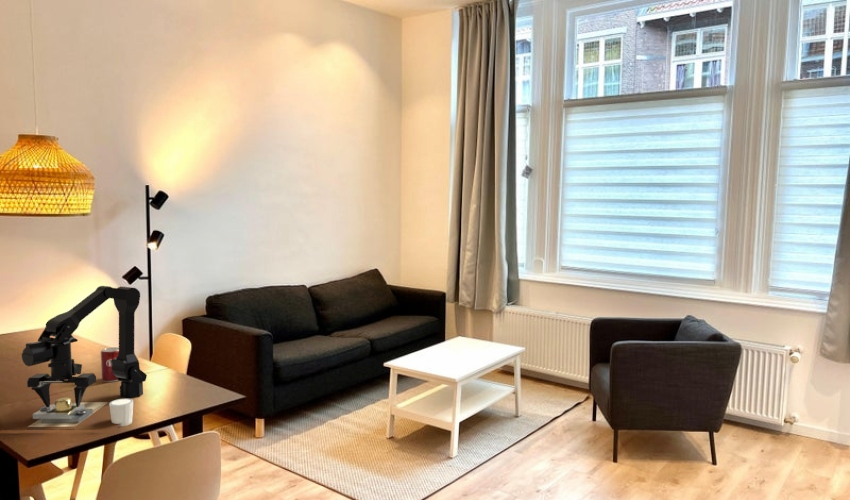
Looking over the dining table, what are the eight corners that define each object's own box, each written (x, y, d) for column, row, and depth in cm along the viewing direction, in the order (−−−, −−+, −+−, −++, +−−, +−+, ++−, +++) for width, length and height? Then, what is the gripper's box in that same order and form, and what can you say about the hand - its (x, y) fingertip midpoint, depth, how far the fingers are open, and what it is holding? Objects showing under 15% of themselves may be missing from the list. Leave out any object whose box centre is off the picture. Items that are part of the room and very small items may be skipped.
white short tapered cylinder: (137, 419, 197) (137, 398, 196) (128, 427, 190) (127, 405, 189) (116, 419, 196) (115, 398, 196) (105, 427, 190) (104, 405, 189)
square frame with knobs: (93, 413, 199) (92, 402, 199) (78, 423, 190) (78, 412, 190) (49, 413, 198) (48, 402, 198) (32, 423, 190) (32, 412, 189)
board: (108, 405, 210) (108, 402, 210) (74, 429, 188) (74, 426, 188) (66, 405, 209) (66, 402, 209) (27, 429, 187) (27, 426, 187)
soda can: (97, 380, 236) (96, 350, 235) (114, 375, 243) (113, 346, 242) (109, 383, 233) (108, 352, 232) (126, 378, 239) (125, 348, 238)
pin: (74, 415, 197) (73, 397, 196) (67, 420, 192) (66, 402, 192) (60, 415, 196) (59, 397, 196) (53, 420, 192) (52, 402, 191)
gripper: (103, 351, 201) (105, 398, 202) (45, 351, 200) (47, 398, 202) (86, 360, 190) (88, 409, 191) (24, 361, 189) (27, 410, 191)
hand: (63, 406), depth 194 cm, fingers open, 9 cm apart
